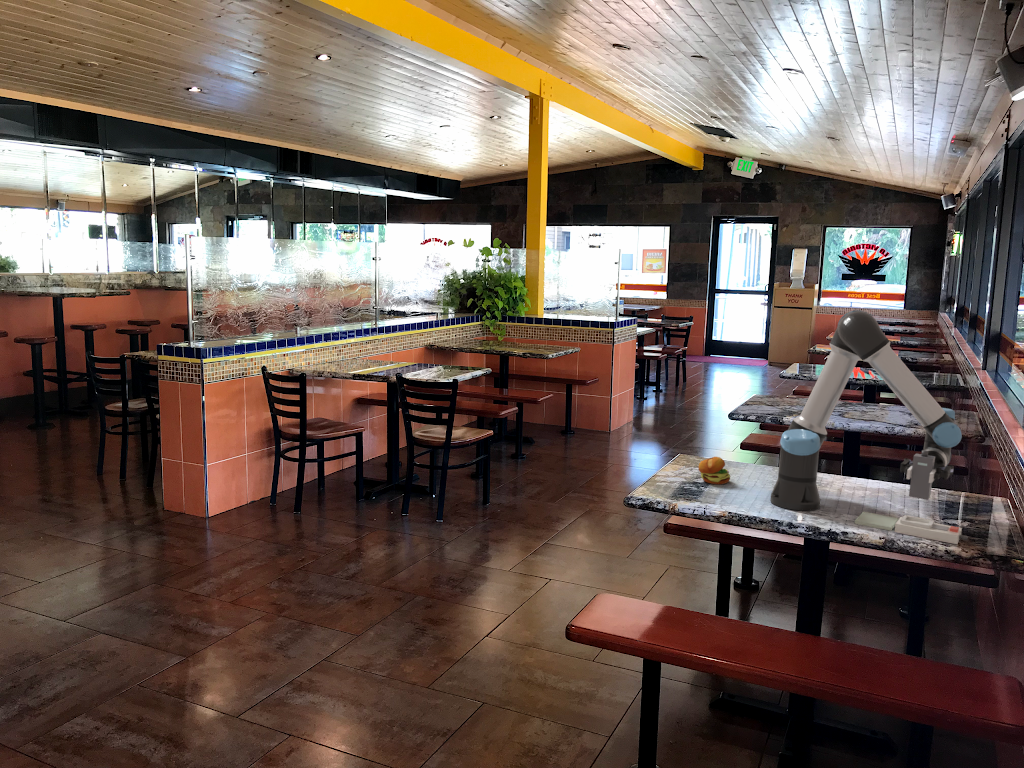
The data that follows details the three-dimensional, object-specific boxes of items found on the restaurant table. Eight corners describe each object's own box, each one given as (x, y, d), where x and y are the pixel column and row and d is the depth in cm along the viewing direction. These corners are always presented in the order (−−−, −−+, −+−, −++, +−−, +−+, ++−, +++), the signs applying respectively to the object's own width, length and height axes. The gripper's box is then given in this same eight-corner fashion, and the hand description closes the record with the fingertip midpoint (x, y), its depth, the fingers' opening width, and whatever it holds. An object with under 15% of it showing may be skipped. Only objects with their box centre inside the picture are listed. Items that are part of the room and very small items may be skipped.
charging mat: (854, 523, 235) (854, 520, 235) (863, 514, 245) (863, 511, 245) (891, 530, 230) (891, 527, 230) (898, 521, 239) (898, 518, 239)
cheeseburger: (737, 484, 276) (733, 457, 274) (709, 492, 274) (705, 465, 272) (723, 476, 286) (719, 450, 284) (696, 484, 284) (692, 458, 281)
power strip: (894, 532, 229) (895, 520, 228) (900, 524, 236) (901, 513, 236) (965, 545, 219) (966, 533, 218) (968, 537, 226) (970, 526, 225)
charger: (908, 496, 228) (914, 450, 226) (911, 493, 231) (916, 448, 229) (928, 499, 225) (933, 453, 223) (930, 496, 228) (935, 451, 227)
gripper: (963, 479, 237) (954, 495, 218) (897, 469, 247) (883, 483, 229) (966, 455, 236) (957, 469, 217) (900, 445, 246) (886, 458, 228)
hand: (919, 476), depth 223 cm, fingers closed on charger, 5 cm apart
